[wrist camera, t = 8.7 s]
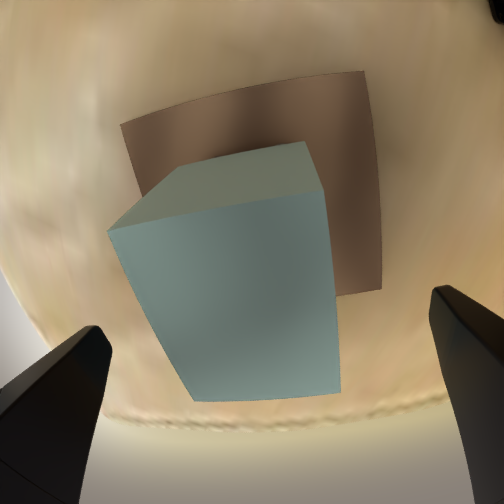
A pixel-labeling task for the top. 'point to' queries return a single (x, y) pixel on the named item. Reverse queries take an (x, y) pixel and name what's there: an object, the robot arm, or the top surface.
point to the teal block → (238, 275)
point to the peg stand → (278, 133)
